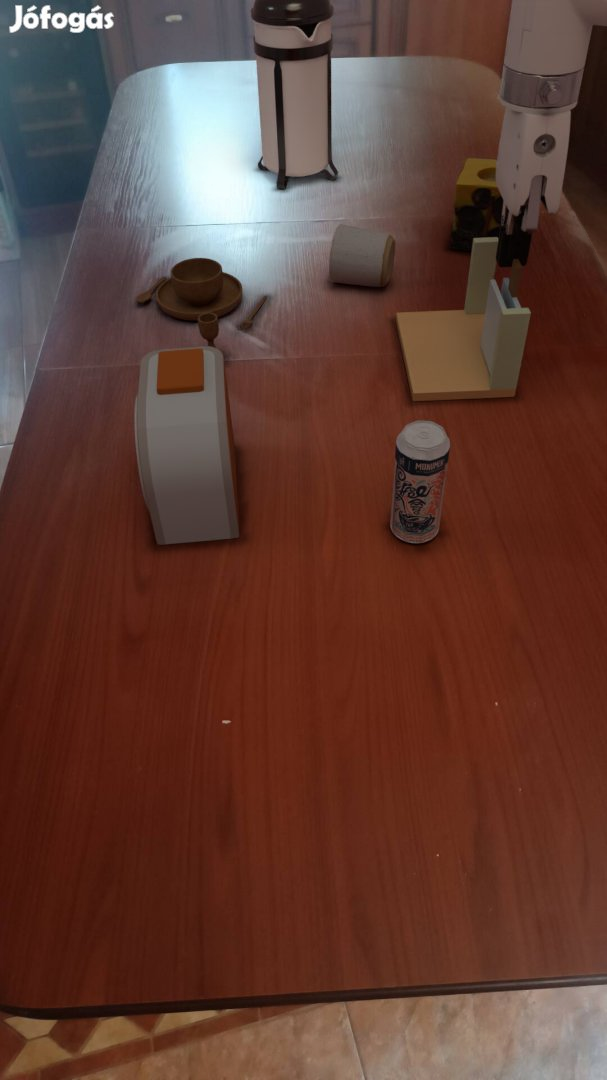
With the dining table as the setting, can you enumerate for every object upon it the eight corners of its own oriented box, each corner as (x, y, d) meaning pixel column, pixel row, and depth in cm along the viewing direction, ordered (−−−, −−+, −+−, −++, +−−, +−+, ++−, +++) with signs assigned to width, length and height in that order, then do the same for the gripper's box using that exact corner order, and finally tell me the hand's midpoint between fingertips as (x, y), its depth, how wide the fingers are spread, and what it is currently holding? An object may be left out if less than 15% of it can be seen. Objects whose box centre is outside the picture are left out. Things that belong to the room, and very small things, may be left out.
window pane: (497, 343, 99) (513, 247, 90) (509, 376, 94) (527, 279, 85) (492, 343, 99) (508, 247, 90) (504, 376, 94) (522, 279, 85)
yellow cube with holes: (525, 228, 124) (537, 161, 117) (517, 258, 117) (529, 189, 110) (459, 221, 126) (467, 155, 119) (448, 250, 120) (455, 182, 112)
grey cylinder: (385, 298, 110) (388, 244, 105) (327, 291, 112) (327, 238, 107) (398, 263, 118) (402, 211, 112) (344, 257, 119) (345, 206, 114)
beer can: (388, 544, 78) (394, 448, 69) (392, 510, 81) (398, 415, 73) (437, 548, 77) (450, 453, 69) (439, 514, 81) (452, 419, 72)
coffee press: (356, 162, 144) (360, -41, 122) (315, 197, 134) (312, -17, 112) (272, 148, 150) (261, -48, 128) (227, 180, 140) (208, -26, 118)
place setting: (275, 289, 113) (273, 249, 109) (223, 367, 100) (218, 326, 96) (162, 274, 117) (156, 235, 113) (98, 347, 104) (88, 306, 100)
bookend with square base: (485, 316, 106) (497, 236, 99) (514, 397, 94) (531, 313, 86) (395, 320, 106) (400, 241, 99) (412, 401, 94) (419, 317, 86)
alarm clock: (158, 449, 89) (136, 343, 79) (234, 443, 90) (222, 337, 80) (154, 545, 79) (128, 437, 69) (240, 537, 79) (226, 429, 69)
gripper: (601, 110, 72) (560, 295, 86) (559, 60, 83) (528, 232, 96) (518, 113, 72) (490, 298, 86) (486, 63, 83) (466, 235, 96)
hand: (510, 263), depth 91 cm, fingers closed
